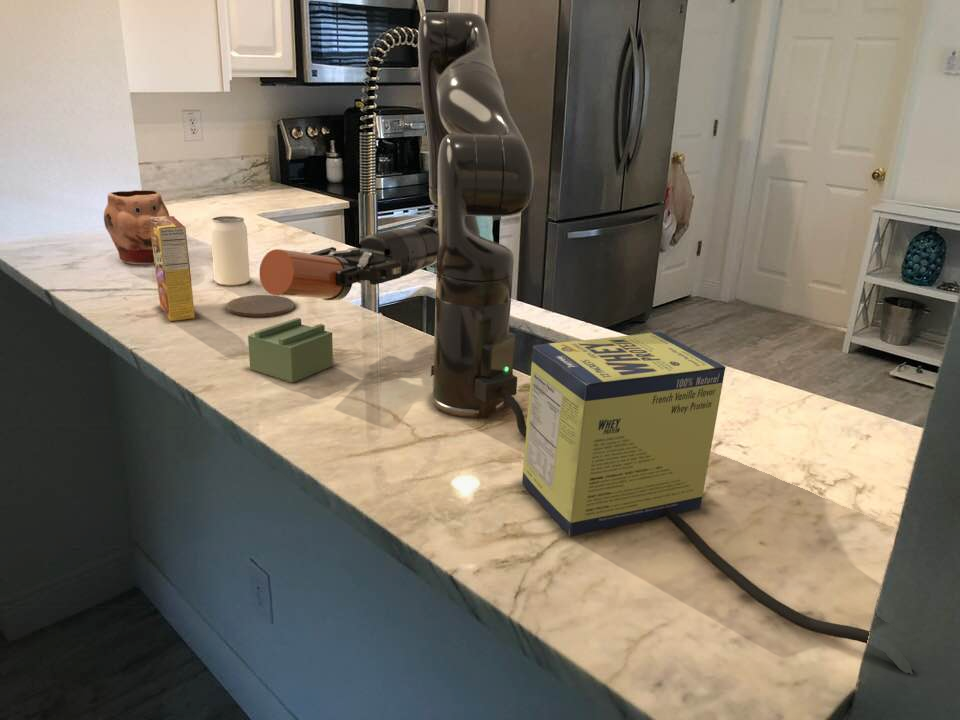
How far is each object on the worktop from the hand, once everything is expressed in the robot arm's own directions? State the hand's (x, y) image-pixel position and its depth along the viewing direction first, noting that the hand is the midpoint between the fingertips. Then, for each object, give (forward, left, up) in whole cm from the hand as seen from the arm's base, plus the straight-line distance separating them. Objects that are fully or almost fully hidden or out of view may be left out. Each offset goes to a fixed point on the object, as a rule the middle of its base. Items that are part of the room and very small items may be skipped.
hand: (318, 275), depth 106 cm
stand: (0, +6, -12) cm, 13 cm away
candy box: (+32, 0, -12) cm, 34 cm away
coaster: (+24, -11, -12) cm, 29 cm away
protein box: (-50, +12, -12) cm, 53 cm away
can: (+40, -19, -12) cm, 46 cm away
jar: (0, +2, 0) cm, 2 cm away
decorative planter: (+67, -19, -12) cm, 71 cm away
